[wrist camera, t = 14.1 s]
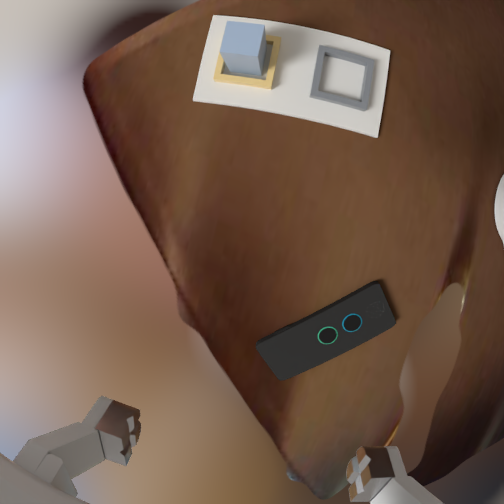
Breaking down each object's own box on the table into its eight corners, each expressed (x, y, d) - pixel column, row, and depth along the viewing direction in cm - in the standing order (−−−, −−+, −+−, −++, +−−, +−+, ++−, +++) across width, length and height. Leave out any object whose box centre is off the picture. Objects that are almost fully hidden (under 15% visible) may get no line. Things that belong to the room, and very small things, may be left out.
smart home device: (397, 325, 42) (280, 383, 47) (394, 320, 44) (280, 376, 48) (378, 281, 41) (253, 345, 45) (375, 276, 42) (254, 339, 47)
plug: (267, 45, 34) (265, 20, 26) (261, 76, 35) (257, 56, 27) (237, 41, 34) (228, 16, 26) (230, 71, 35) (219, 52, 28)
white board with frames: (388, 51, 33) (393, 47, 31) (376, 138, 37) (380, 136, 35) (214, 16, 33) (211, 10, 32) (193, 101, 37) (189, 98, 35)
